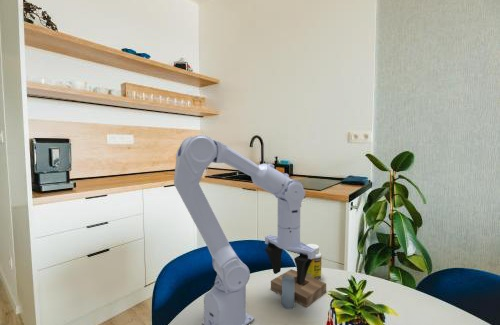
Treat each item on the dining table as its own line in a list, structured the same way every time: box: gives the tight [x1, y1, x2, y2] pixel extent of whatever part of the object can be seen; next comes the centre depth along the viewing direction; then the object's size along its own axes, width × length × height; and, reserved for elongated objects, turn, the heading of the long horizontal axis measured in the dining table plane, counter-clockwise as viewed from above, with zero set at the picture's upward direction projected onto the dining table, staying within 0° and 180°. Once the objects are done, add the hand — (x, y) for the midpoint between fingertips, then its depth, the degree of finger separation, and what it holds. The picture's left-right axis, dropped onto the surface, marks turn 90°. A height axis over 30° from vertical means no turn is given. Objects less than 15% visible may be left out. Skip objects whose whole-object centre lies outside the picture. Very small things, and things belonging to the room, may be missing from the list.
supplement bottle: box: [306, 243, 323, 281], centre depth 80 cm, size 6×6×10 cm
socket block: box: [270, 269, 327, 308], centre depth 73 cm, size 10×12×2 cm
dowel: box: [281, 276, 295, 310], centre depth 66 cm, size 3×3×7 cm
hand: (288, 277), depth 66 cm, fingers open, 7 cm apart
